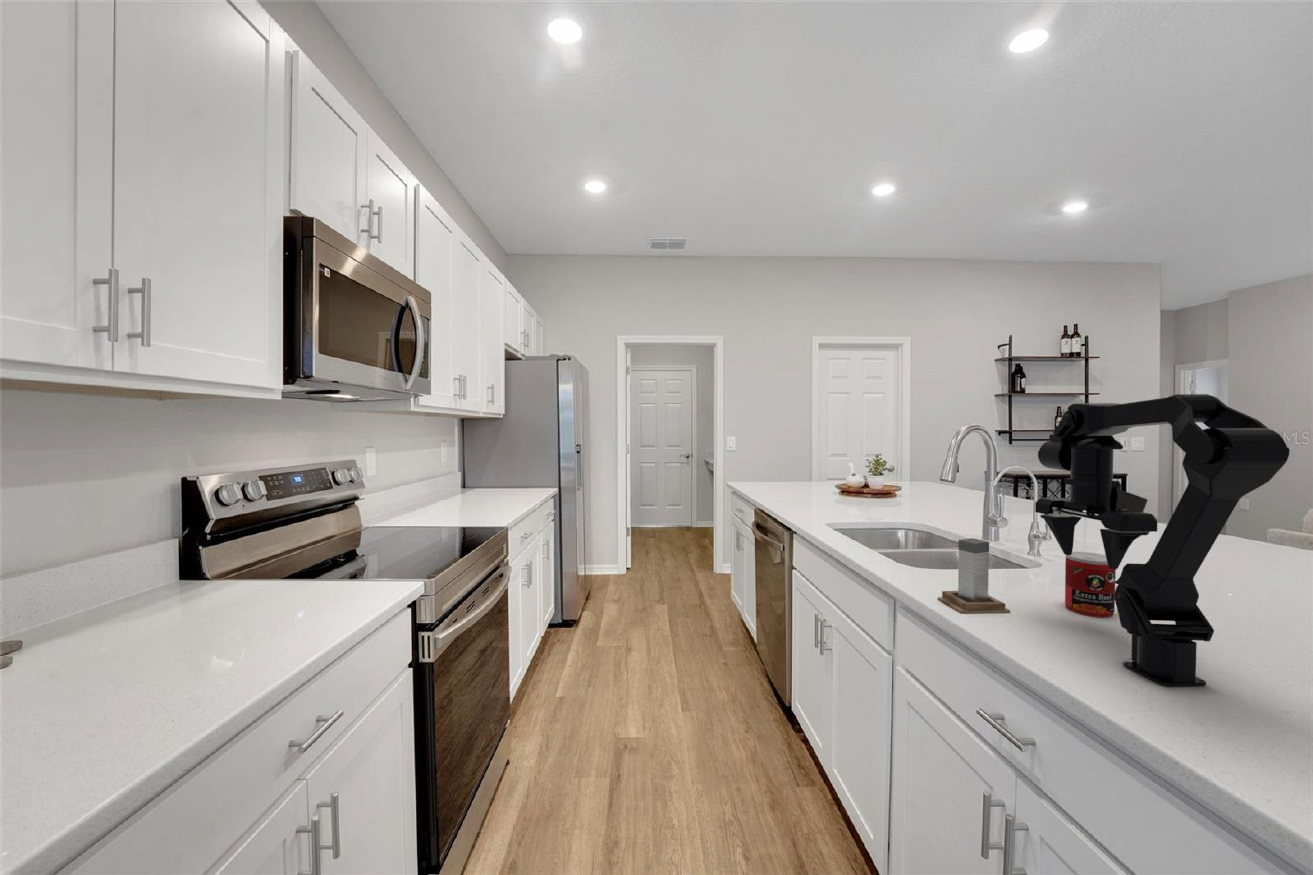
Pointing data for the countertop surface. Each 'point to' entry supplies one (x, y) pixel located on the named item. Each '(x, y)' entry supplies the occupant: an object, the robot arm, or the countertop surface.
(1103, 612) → the canned food
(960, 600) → the brown square tray
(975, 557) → the grey dark-topped prism
